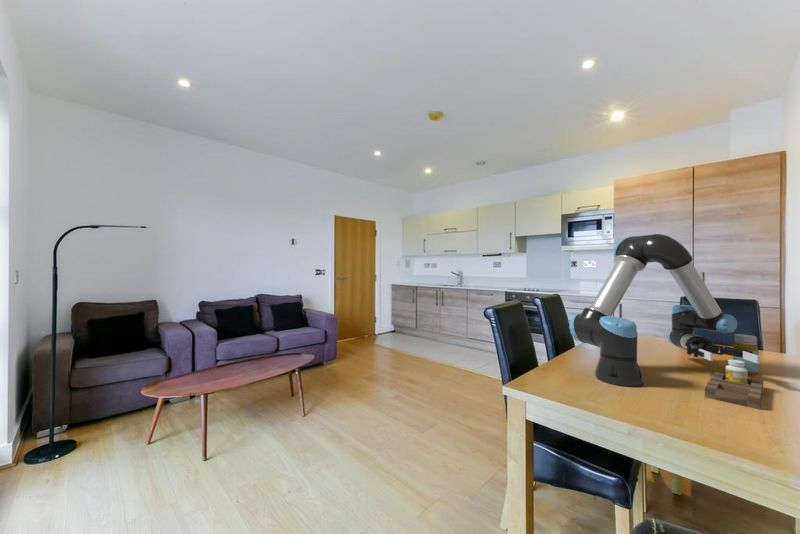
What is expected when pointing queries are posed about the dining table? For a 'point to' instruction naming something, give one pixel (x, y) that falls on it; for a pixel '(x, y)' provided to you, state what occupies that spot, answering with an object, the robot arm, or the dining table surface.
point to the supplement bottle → (736, 371)
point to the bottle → (750, 345)
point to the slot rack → (735, 391)
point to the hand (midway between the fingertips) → (734, 358)
